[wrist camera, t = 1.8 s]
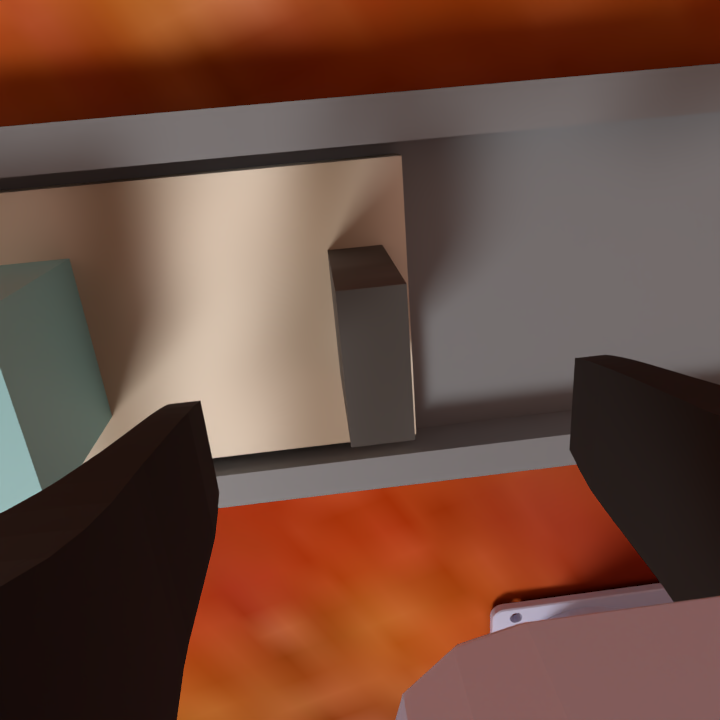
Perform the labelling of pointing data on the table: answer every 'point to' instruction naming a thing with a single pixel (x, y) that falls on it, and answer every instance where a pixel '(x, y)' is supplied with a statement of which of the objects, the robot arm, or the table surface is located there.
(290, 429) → the sliding plate with handle
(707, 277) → the channel
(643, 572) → the table surface
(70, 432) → the block
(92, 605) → the robot arm
